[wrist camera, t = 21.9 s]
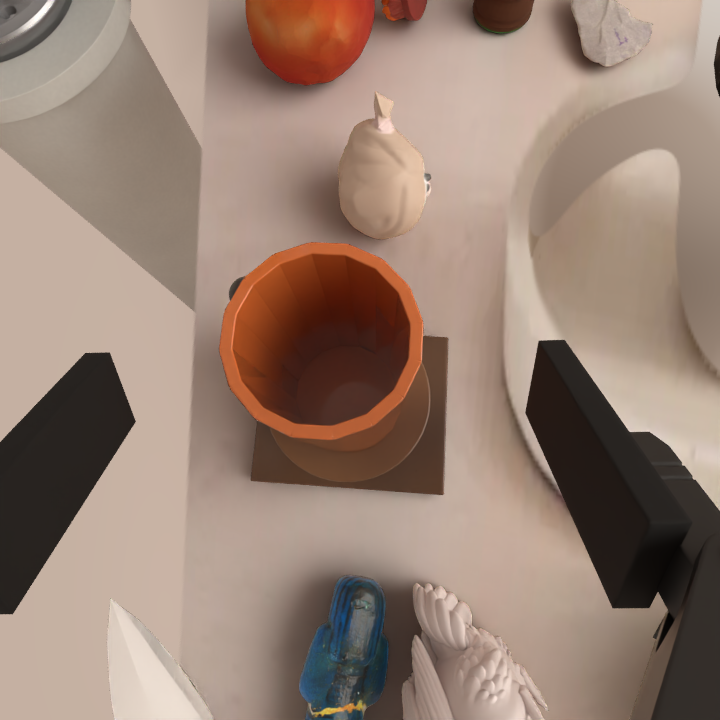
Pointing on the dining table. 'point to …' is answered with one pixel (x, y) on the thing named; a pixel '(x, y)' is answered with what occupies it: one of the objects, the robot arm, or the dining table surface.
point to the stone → (609, 31)
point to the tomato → (309, 36)
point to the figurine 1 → (347, 653)
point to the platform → (717, 66)
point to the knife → (146, 675)
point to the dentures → (404, 9)
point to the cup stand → (381, 461)
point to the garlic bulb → (381, 177)
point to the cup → (323, 345)
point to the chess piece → (502, 14)
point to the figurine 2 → (463, 667)
